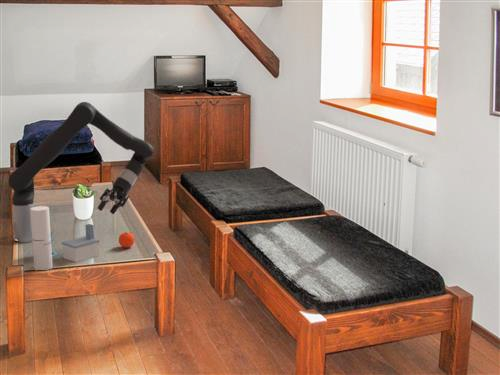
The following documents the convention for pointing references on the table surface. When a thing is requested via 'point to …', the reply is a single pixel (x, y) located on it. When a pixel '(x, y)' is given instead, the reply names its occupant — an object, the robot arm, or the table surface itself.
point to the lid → (83, 238)
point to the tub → (81, 252)
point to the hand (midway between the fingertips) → (105, 211)
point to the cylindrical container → (41, 238)
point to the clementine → (126, 239)
